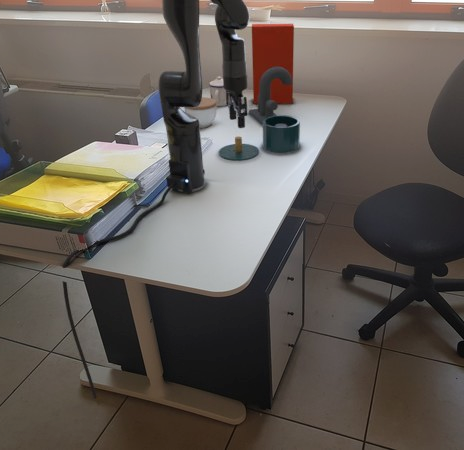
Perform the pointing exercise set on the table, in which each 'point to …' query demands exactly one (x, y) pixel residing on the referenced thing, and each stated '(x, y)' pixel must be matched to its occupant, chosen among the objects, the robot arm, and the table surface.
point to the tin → (281, 134)
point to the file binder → (273, 58)
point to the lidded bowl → (204, 111)
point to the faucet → (269, 93)
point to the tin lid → (238, 151)
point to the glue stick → (280, 125)
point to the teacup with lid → (218, 91)
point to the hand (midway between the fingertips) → (237, 123)
